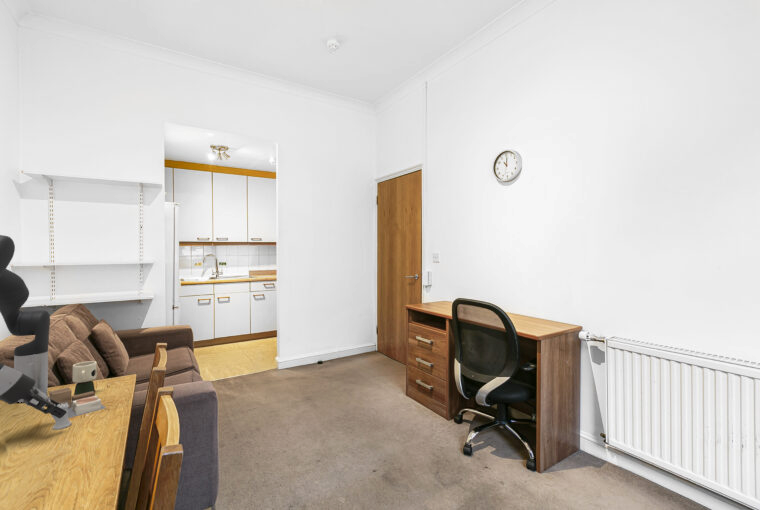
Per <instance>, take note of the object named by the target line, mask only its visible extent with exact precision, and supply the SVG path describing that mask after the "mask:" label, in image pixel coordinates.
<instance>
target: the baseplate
mask: <svg viewBox="0 0 760 510" xmlns="http://www.w3.org/2000/svg"><path fill="white" fill-rule="evenodd" d="M104 409H107V407H106V406H105V405H103V404H102V403H101V409H98V410H94V411H90V412H86V413H83V414H79V415H76V413H75V412H74V411H73V410H72V401H71V408H68V409H67V410H68V412H67V415H68V419H71V418H75V417H77V416H82V415H86V414H89V413H90V414H91V413H93V412H98V411H100V410H104ZM50 415H51V417H52V418H53V420H54V421H55V422H56V419H57V417H56V416H54V415H52V414H50Z"/></svg>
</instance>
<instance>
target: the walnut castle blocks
mask: <svg viewBox="0 0 760 510" xmlns="http://www.w3.org/2000/svg"><path fill="white" fill-rule="evenodd" d="M48 392H49V393H48V394H49V395H48V396H49V399H52V400H54V401H56V402H58V403H60V404H61V403H63V404H65V403H68V405H69V407H68V408H71V402H72V404H73V401H75V400H79V399H84V398H88V397H92V396H96V392H93V391H92V392H87V393H83V394H79V395H74V394H73V395H72V389H71V388H70V387H69V386H67V387H63V388H58V389H54V390H50V391H48Z"/></svg>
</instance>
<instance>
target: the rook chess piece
mask: <svg viewBox="0 0 760 510" xmlns="http://www.w3.org/2000/svg"><path fill="white" fill-rule="evenodd" d="M57 406H58V407H59V408H61V409H63V410H65V411H66V414H65V415H64V416H63V417H62V418H58V417H57V419H56V421H55V422H54V425H53V426H52V430H63V429H66V428H69V427H70V426H71V425H72V422H71V421H70V419H69V418H68V415H67V412H68V410H67V409H68V407H69V405H68V403H65V404H63V403H61V405H60V404H58V405H57Z"/></svg>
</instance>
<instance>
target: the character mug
mask: <svg viewBox="0 0 760 510" xmlns="http://www.w3.org/2000/svg"><path fill="white" fill-rule="evenodd" d="M97 364H98V362H97V361H96V360H95V361H94V360H93V361H92V360H89V361H81V362H78V363H74V364H72V383H76V384H75V388H74V392H73V396H74V395H79V394H83V393H87V392H92V391H93V392H94V393H96V391H95V389H96V388H95V383H94V381H93V380H95V379H97V375H98V373H97V371H98V370H97V368H98V367H97V366H98V365H97Z"/></svg>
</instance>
